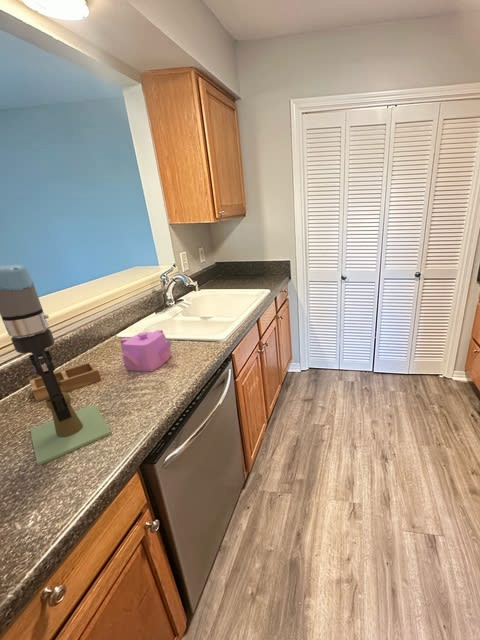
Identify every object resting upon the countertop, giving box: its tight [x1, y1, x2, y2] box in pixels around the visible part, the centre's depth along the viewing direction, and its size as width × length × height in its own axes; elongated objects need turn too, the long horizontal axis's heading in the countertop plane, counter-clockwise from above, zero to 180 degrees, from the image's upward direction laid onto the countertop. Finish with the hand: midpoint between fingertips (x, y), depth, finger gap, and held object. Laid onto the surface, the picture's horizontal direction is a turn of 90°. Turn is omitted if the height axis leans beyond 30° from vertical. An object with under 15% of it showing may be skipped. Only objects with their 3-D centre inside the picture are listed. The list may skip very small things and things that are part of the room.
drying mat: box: [29, 403, 112, 466], centre depth 87 cm, size 18×16×1 cm
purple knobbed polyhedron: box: [120, 329, 173, 373], centre depth 122 cm, size 17×17×12 cm
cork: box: [45, 392, 83, 437], centre depth 85 cm, size 6×6×11 cm
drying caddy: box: [29, 360, 102, 403], centre depth 110 cm, size 10×18×4 cm, turn 132°
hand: (63, 413), depth 85 cm, fingers closed on cork, 5 cm apart
